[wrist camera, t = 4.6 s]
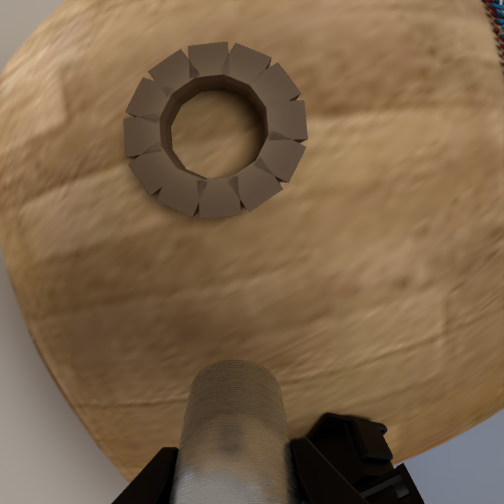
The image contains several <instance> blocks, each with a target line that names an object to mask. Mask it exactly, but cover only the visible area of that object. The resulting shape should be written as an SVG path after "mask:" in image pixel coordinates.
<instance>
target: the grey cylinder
mask: <svg viewBox="0 0 504 504" xmlns="http://www.w3.org/2000/svg"><path fill="white" fill-rule="evenodd" d="M169 504H303V503H302V498H301V493H300V489H299V484H298V480H297V474H296V469H295V464H294V459H293V453H292V448H291V440H290V435H289V430H288V424H287V419H286V414H285V409H284V403H283V398H282V393H281V388H280V385H279V382H278V381H277V379H276V378H275V376H274V375H273V374H272V373H271V372H270V371H268V370H267V369H266V368H264V367H262V366H260V365H258V364H255V363H252V362H248V361H243V360H227V361H221V362H217V363H214V364H212V365H210V366H207V367H206V368H204V369H203V370H201V371H200V372H199V373H198V374H197V375H196V376H195V378H194V380H193V381H192V384H191V387H190V392H189V397H188V402H187V407H186V413H185V418H184V423H183V428H182V433H181V439H180V444H179V450H178V455H177V461H176V466H175V472H174V478H173V483H172V489H171V495H170V501H169Z"/></svg>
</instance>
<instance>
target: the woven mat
mask: <svg viewBox="0 0 504 504" xmlns="http://www.w3.org/2000/svg"><path fill="white" fill-rule="evenodd" d="M484 1H486V4H487V7H488V9H489V12H490V15H491V18H492V21H493V24H494V27H495V28H494V29H495V32H496V33H497V34H498V41H499V44H500V48H501V52H502V56H503V60H504V0H484ZM494 11H495V12H496V13H497V14H496V13H495V12H494Z"/></svg>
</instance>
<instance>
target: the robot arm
mask: <svg viewBox="0 0 504 504" xmlns="http://www.w3.org/2000/svg"><path fill="white" fill-rule="evenodd" d="M329 419H330V420H329ZM386 432H387V428H386V426H385V425H383V424H377V423H374V422H369V421H364V420H359V419H355V418H348V417H344V416H340V415H335V414H326V415H325V416H323V418H322V419H321V420H320V421H319V422H318V424H317V425H316V426H315V427H314V429H313V430H312V431H311V432H310V433H309V434H308V436H307V437H301V438H295V439H292V440H291V448H292V453H293V459H294V464H295V469H296V474H297V480H298V484H299V489H300V493H301V498H302V503H303V504H424V501H423V499H422V497H421V495H420V494H419V492H418V490H417V488H416V486H415V484H414V482H413V480H412V478H411V476H410V474H409V473H408V471H407V469H406V467H405V465H404V463H402V464H400V465H398V466H397V468H395V469H394V467H393V465H392V463H391V460H392V459H393V455H392V453H391V451H390V449H389V447H388V445H387V443H386V441H385V439H384V437H383V435H384V434H385V433H386ZM178 450H179V449H178V448H177V447H163V448H161V450H160V451H159V452H158V453H157V454H156V455H155V456H154V457H153V459H152V460H151V461H150V462H149V463H148V464H147V465H146V467H145V468H144V469H143V470H142V471H141V472H140V473H139V474H138V475H137V477H136V478H135V479H134V480H133V481H132V482H131V483H130V484H129V485H128V487H126V489H125V490H124V491H123V492H122V493H121V494H120V495H119V496H118V497H117V498H116V499H115V500H114V501H113V503H111V504H169V501H170V495H171V489H172V483H173V478H174V472H175V466H176V461H177V455H178Z"/></svg>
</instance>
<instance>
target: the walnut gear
mask: <svg viewBox="0 0 504 504" xmlns="http://www.w3.org/2000/svg"><path fill="white" fill-rule="evenodd" d="M188 56H189V59H188V58H187V57H186V55H185V54H184V53H183V51H182V50H181V49H180V50H178V51H177V52H175V53H174V54H172V55H171V56H169V57H168V58H166V59H165V60H163V61H162V62H160V63H159V64H158V65H156V66H155V67H153V68H152V69H151V70H149V71H148V72H149V73H150V75H151V76H152V77H153V79H154V80H155V81H156V82H155V81H152V80H149V79H146V78H142V80H141V82H140V83H139V85H138V87H137V89H136V91H135V93H134V95H133V97H132V99H131V101H130V103H129V105H128V107H127V109H126V111H125V112H127V113H129V114H130V115H132V116H134V118H129V119H124V136H125V152H126V157H128V158H135V160H133V161H132V162H131V163H130V164H129V166H130V168H131V169H132V171H133V172H134V174H135V175H136V176H137V178H138V179H139V181H140V182H141V184H142V185H143V187H144V188H145V189H146V191H147V192H148V194H149V195H150V196H152V195H156V194H159V196H158V198H157V200H156V201H157V202H159V203H161V204H164V205H166V206H168V207H170V208H173V209H175V210H177V211H179V212H181V213H184V214H186V215H188V216H190V217H193V216H194V215H195V214H197V213H198V212H199V211H200V219H203V218H214V217H225V216H237V215H241V204H240V200H241V201H242V203H243V204H244V206H245V207H246V209H247V210H248V211H249V212H250V211H252V210H253V209H255V208H256V207H258V206H259V205H260V204H262V203H263V202H265V201H266V200H268V199H269V198H271V197H272V196H274V195H275V194H277V193H278V192H280V191H281V190H283V188H282V187H281V185H280V184H279V182H278V181H277V180H279V181H281V182H286V183H289V181H290V179H291V177H292V175H293V173H294V171H295V169H296V167H297V165H298V163H299V161H300V159H301V157H302V155H303V153H304V151H305V149H306V147H305V146H303V145H301V144H299V143H301V142H303V141H305V140H307V139H308V136H307V125H306V114H305V104H304V101H296V99H297V98H298V97H299V95H300V94H301V92H300V91H299V89H298V88H297V87H296V85H295V84H294V83H293V81H292V80H291V79H290V77H289V76H288V75H287V73H286V72H285V71H284V69H283V68H282V67H281V66H280V64H279V63H276V64H274V65H273V66H271V67H269V65H270V62H271V57H269V56H267V55H264V54H262V53H260V52H257V51H255V50H252V49H250V48H248V47H245V46H243V45H240V44H237V43H235V45H234V46H233V48H232V50H231V51H230V53H228V42H219V43H209V44H201V45H193V46H188ZM217 89H228V90H231V91H233V92H236V93H238V94H240V95H242V96H245V97H247V98H249V100H250V101H251V102H252V104H253V105H254V106H255V108H256V109H257V110H258V112H259V113H260V115H261V116H262V118H263V130H264V143H263V145H262V147H261V149H260V151H259V153H258V155H257V157H256V159H255V161H254V162H253V163H251V164H250V165H248V166H247V167H245V168H244V169H242V170H241V171H240V172H238V173H237V174H235V175H234V176H232V177H224V178H214V179H207V178H205V177H203V176H200V175H198V174H196V173H194V172H191V171H189V170H187V169H186V168H185V167H184V166H183V164H182V163H181V161H180V160H179V158H178V157H177V156H176V154H175V153H174V151H173V150H172V137H171V125H172V123H173V121H174V119H175V117H176V115H177V113H178V111H179V109H180V107H181V105H182V104H184V103H185V102H186V101H188V100H189V99H191V98H192V97H194V96H195V95H197V94H198V93H200V92H201V91H207V90H217Z"/></svg>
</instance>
